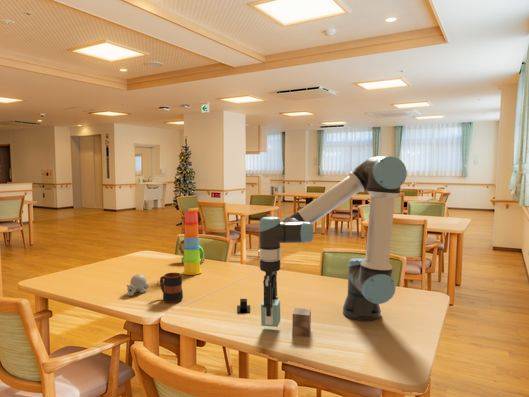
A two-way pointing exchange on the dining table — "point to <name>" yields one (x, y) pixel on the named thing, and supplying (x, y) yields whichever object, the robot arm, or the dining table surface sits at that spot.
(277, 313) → the teal block
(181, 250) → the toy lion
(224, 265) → the dining table surface
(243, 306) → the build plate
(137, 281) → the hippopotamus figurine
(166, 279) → the mug
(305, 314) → the walnut block
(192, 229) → the stacking cups
